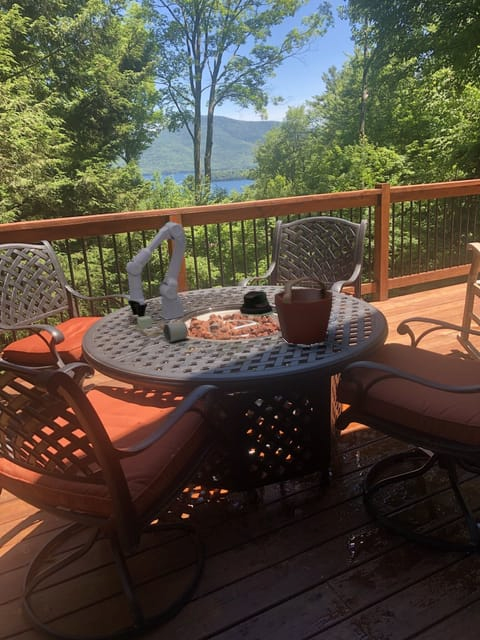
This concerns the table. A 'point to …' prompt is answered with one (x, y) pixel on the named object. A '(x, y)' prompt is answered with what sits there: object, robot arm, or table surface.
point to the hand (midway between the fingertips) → (138, 316)
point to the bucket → (304, 312)
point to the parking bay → (153, 332)
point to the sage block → (144, 321)
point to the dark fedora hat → (256, 304)
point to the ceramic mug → (175, 331)
